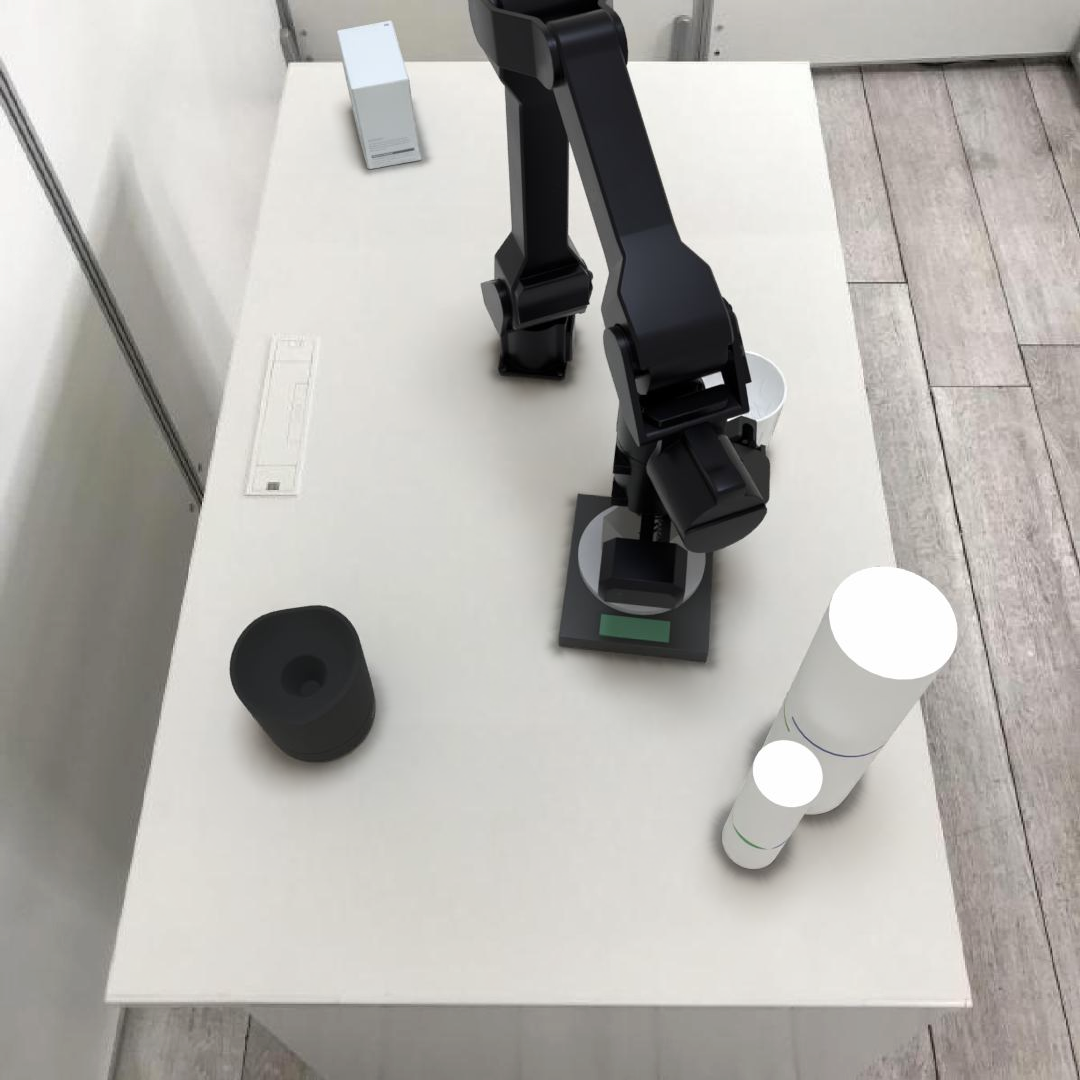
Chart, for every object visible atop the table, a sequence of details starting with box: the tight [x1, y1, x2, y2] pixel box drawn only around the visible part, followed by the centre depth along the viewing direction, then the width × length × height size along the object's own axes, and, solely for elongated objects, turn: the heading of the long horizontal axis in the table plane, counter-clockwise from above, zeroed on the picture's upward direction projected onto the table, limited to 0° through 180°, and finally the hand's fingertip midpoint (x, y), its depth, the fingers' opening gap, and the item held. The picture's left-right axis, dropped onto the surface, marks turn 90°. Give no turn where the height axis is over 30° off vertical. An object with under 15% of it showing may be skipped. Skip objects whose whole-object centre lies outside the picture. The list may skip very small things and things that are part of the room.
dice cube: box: [601, 506, 687, 550], centre depth 87 cm, size 5×5×5 cm
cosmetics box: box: [336, 19, 423, 170], centre depth 116 cm, size 10×6×10 cm, turn 14°
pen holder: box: [228, 604, 376, 763], centre depth 80 cm, size 9×9×10 cm
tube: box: [721, 740, 823, 870], centre depth 73 cm, size 4×4×15 cm
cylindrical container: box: [761, 566, 958, 815], centre depth 71 cm, size 7×7×25 cm
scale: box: [558, 493, 715, 663], centre depth 89 cm, size 12×14×3 cm
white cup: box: [702, 349, 788, 451], centre depth 93 cm, size 8×8×10 cm
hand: (642, 547), depth 88 cm, fingers open, 9 cm apart
